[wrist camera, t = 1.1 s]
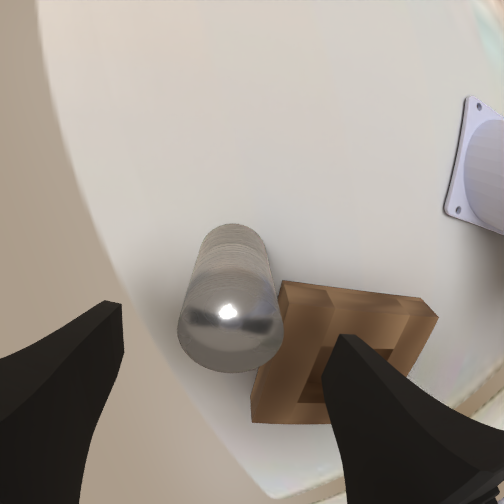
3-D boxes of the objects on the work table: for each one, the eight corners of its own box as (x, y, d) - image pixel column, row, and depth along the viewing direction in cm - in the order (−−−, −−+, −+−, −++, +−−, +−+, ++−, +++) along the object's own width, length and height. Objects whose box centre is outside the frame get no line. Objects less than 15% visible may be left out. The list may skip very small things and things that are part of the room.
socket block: (420, 298, 18) (438, 317, 16) (367, 398, 22) (376, 420, 19) (282, 280, 17) (289, 303, 15) (250, 396, 21) (251, 422, 18)
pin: (272, 229, 16) (295, 297, 9) (259, 289, 17) (270, 377, 11) (204, 218, 16) (181, 280, 9) (196, 279, 17) (175, 365, 10)
